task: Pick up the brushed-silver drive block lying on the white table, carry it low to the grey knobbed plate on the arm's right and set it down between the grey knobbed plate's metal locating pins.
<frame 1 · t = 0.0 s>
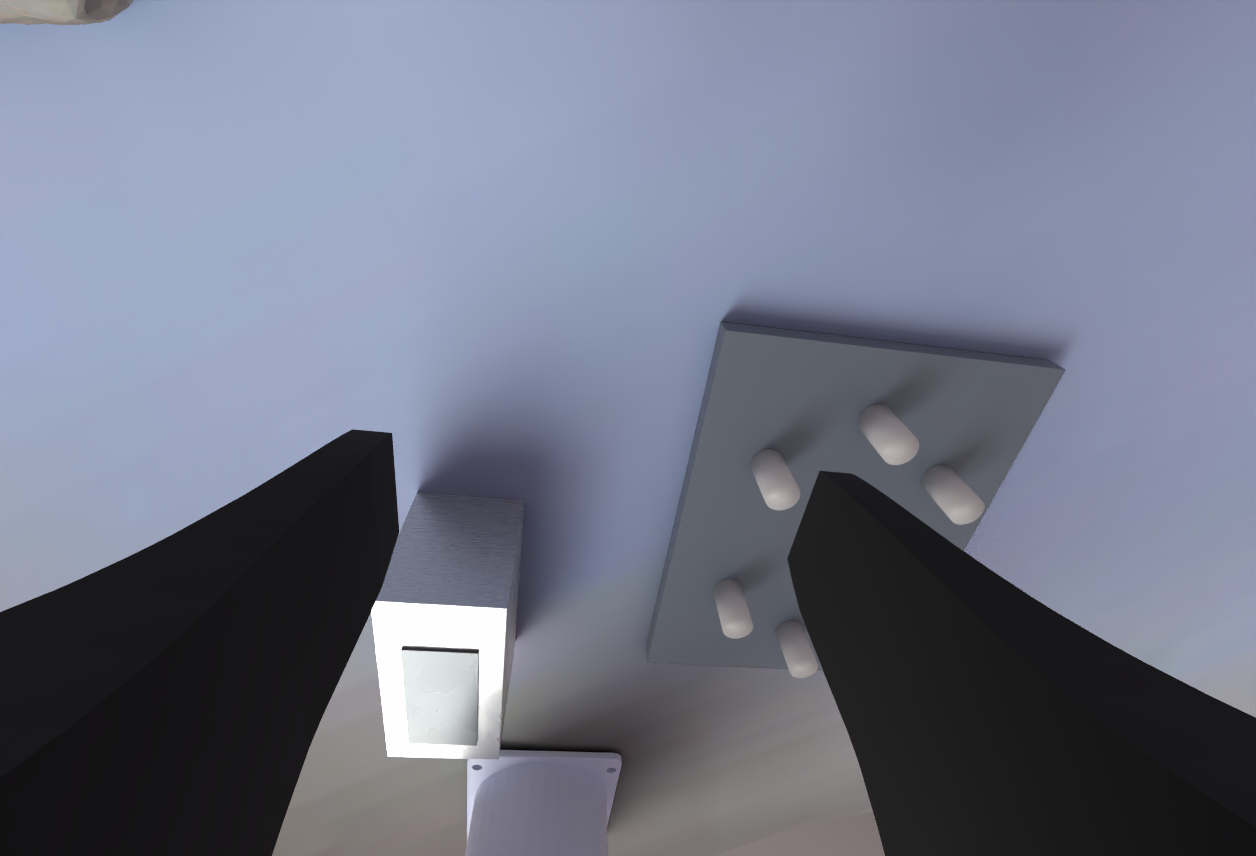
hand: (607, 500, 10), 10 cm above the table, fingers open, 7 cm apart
grey knobbed plate: (820, 523, 24), on the table
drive: (471, 571, 24), on the table
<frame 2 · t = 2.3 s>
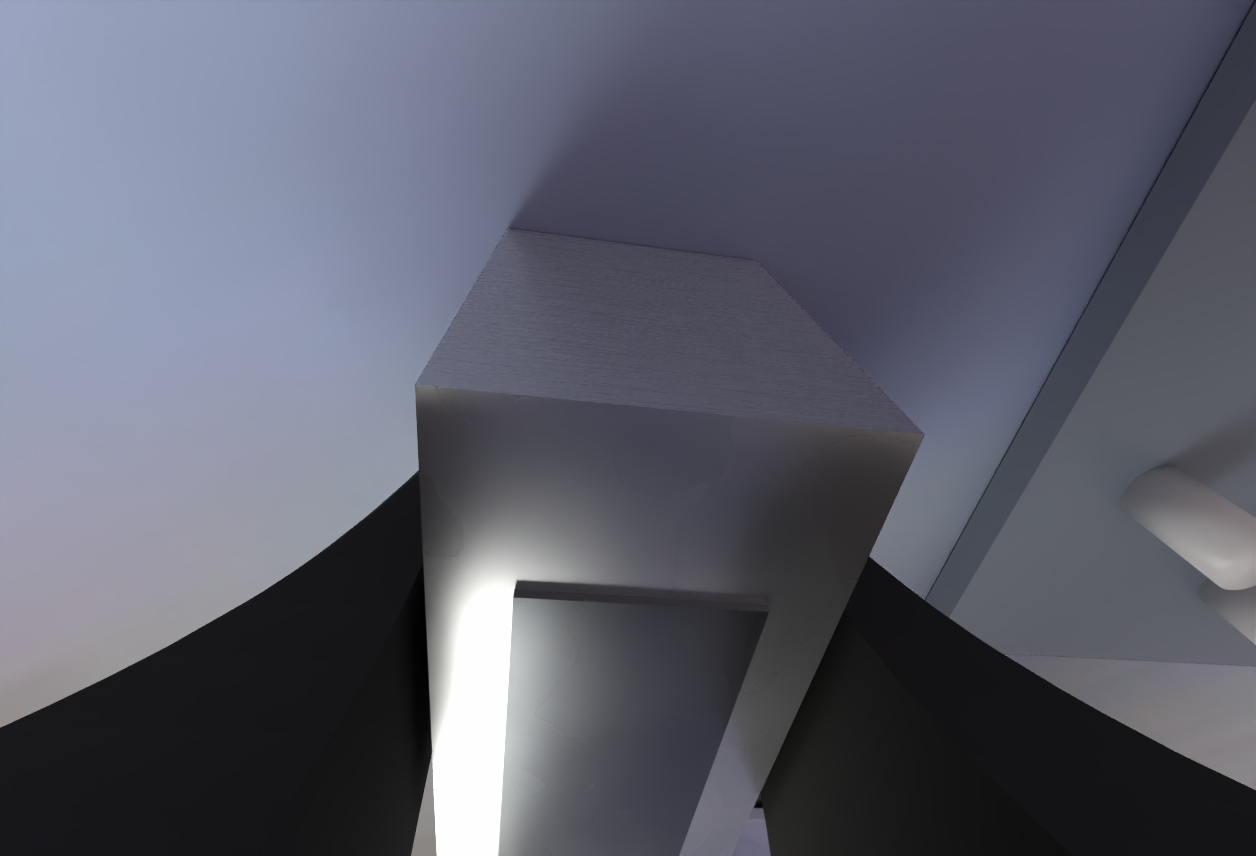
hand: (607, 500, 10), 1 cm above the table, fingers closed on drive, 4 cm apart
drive: (605, 455, 11), on the table, touching gripper
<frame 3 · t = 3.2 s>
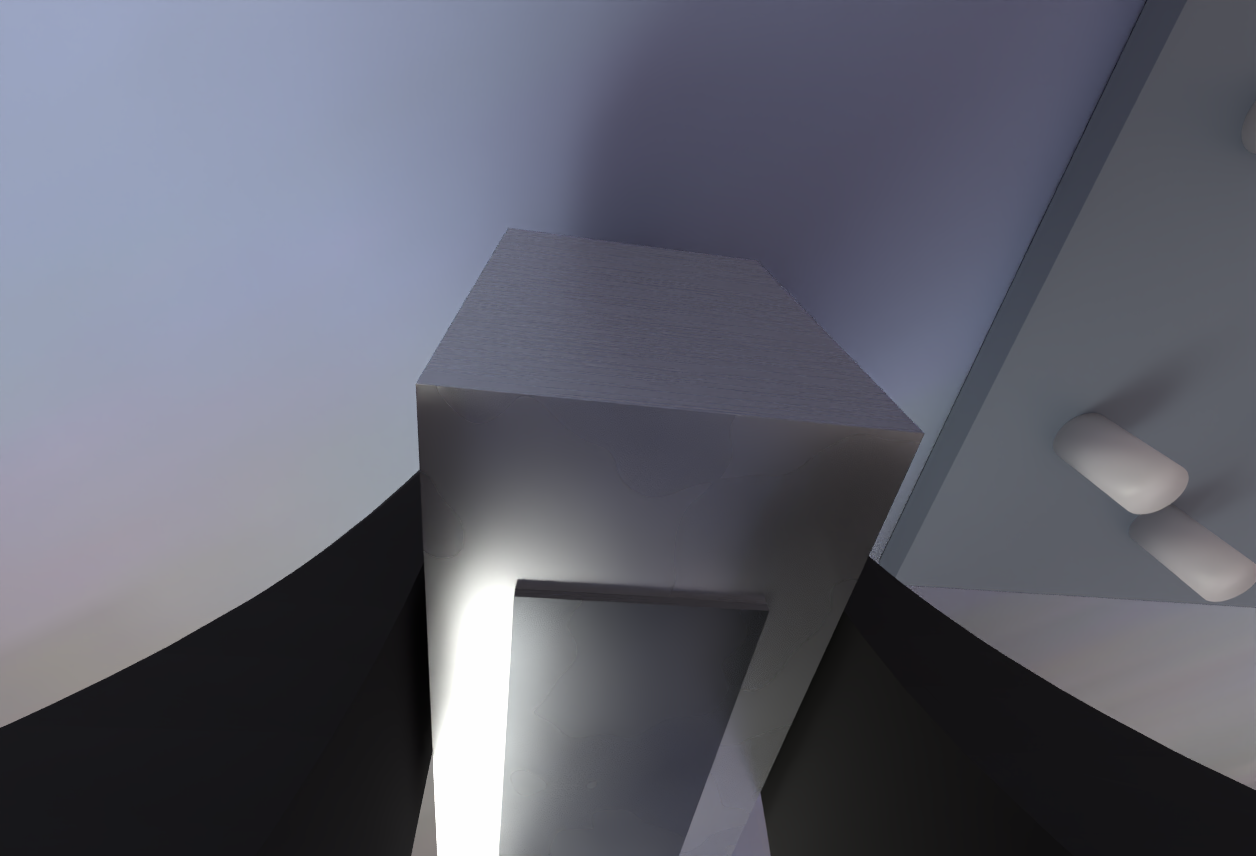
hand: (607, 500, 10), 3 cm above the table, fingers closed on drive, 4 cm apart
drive: (605, 455, 11), point 2 cm above the table, touching gripper
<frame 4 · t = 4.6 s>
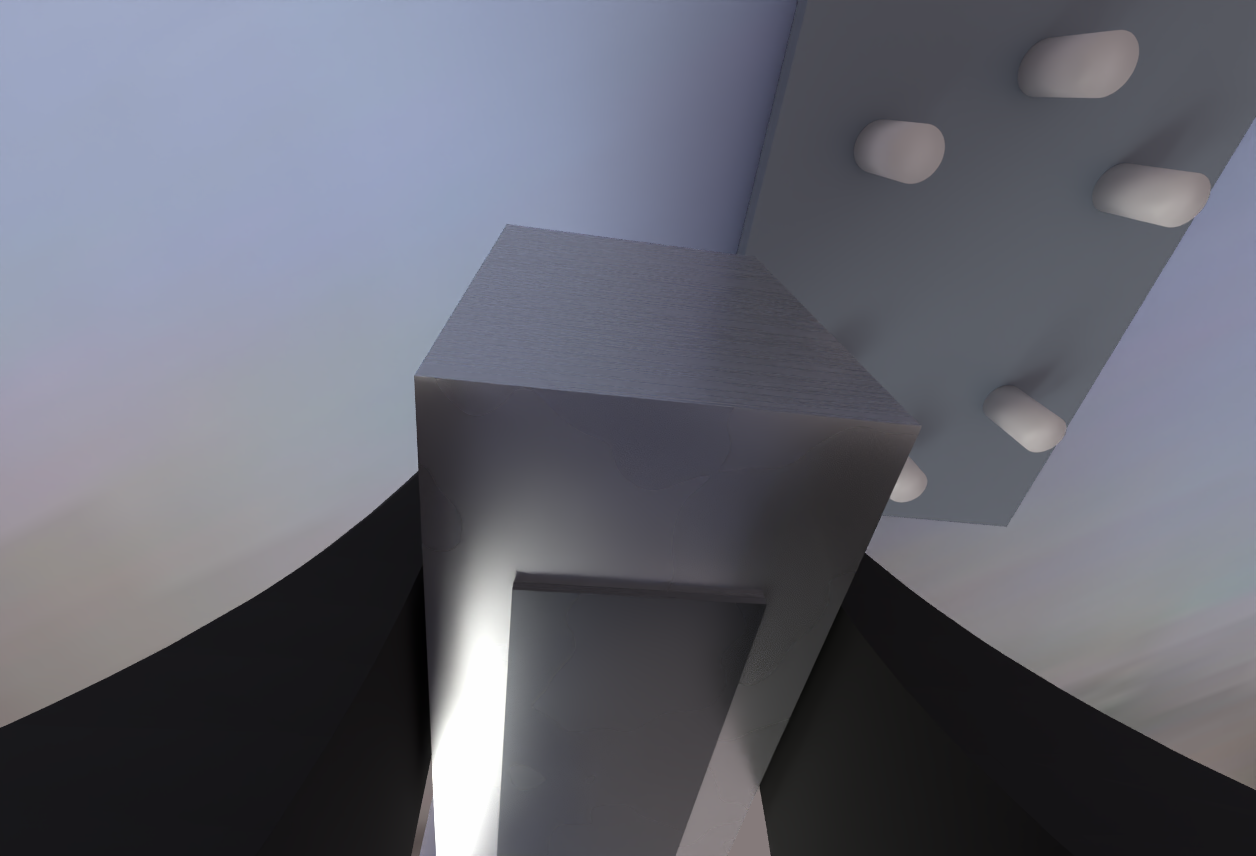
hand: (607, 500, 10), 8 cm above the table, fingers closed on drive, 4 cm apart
grey knobbed plate: (933, 281, 17), on the table
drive: (604, 451, 11), point 7 cm above the table, touching gripper
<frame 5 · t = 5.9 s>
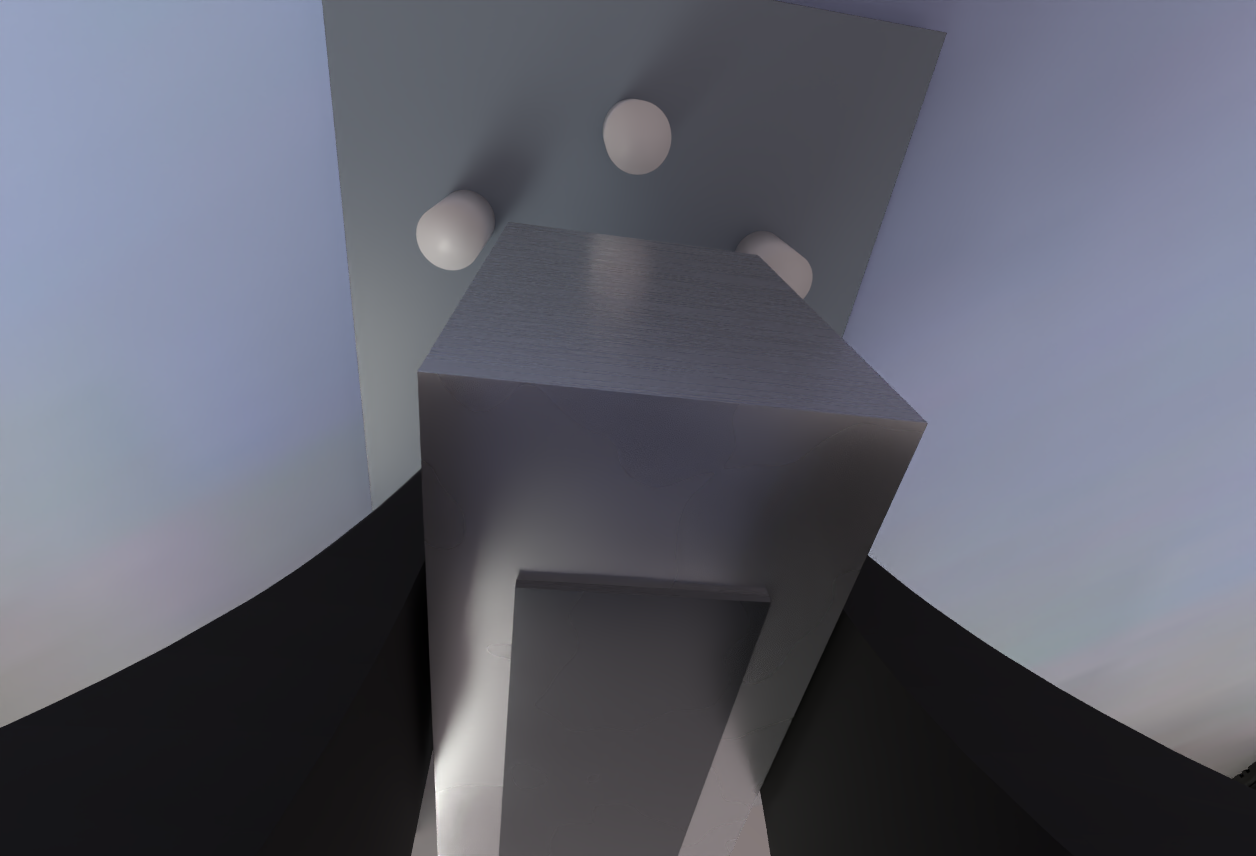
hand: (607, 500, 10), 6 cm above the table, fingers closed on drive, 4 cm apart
grey knobbed plate: (600, 354, 15), on the table
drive: (605, 450, 11), point 5 cm above the table, touching gripper
handheld gaming console: (1217, 791, 30), on the table
when the fingers open (3 cm above the table, at t = 7.0 s): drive stays where it is, resting on grey knobbed plate.
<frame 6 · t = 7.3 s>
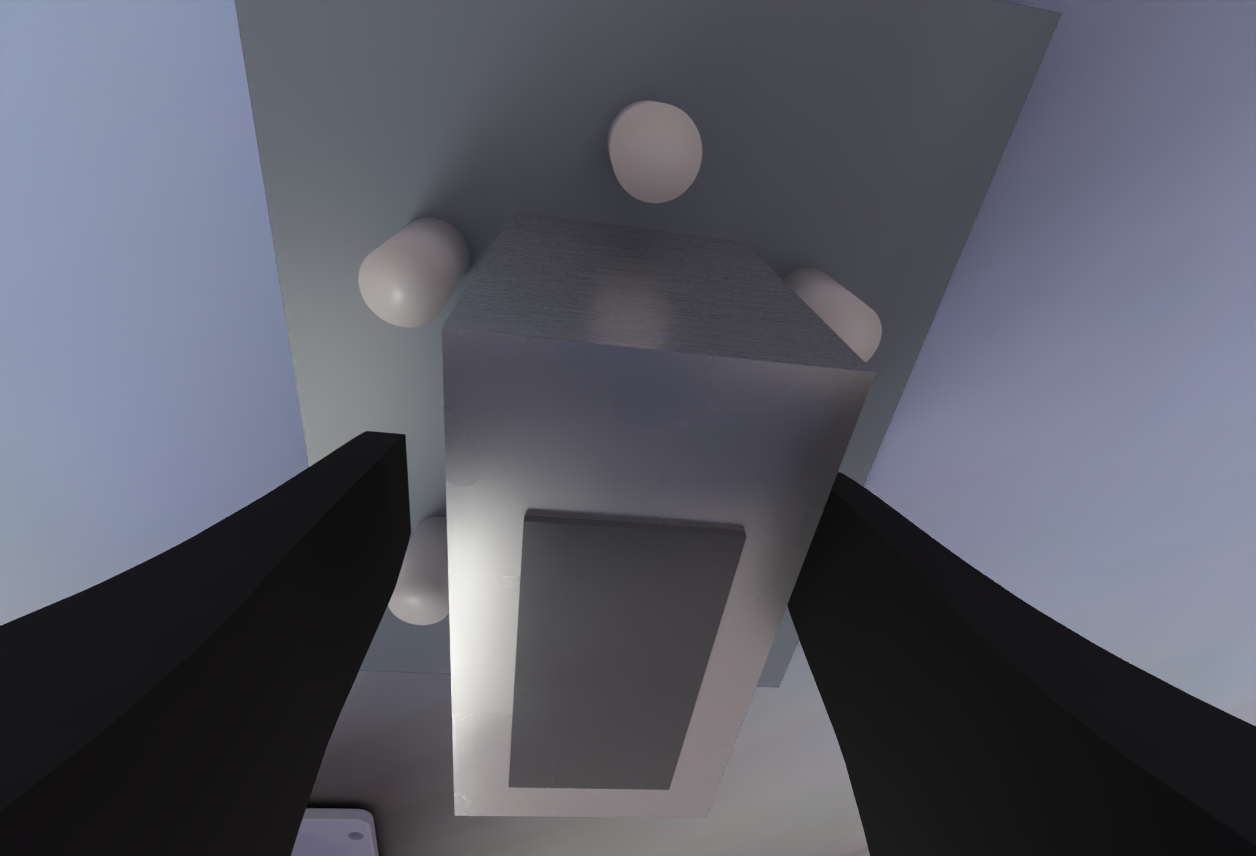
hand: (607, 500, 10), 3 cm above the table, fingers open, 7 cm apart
grey knobbed plate: (603, 411, 13), on the table
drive: (604, 426, 12), point 1 cm above the table, touching grey knobbed plate
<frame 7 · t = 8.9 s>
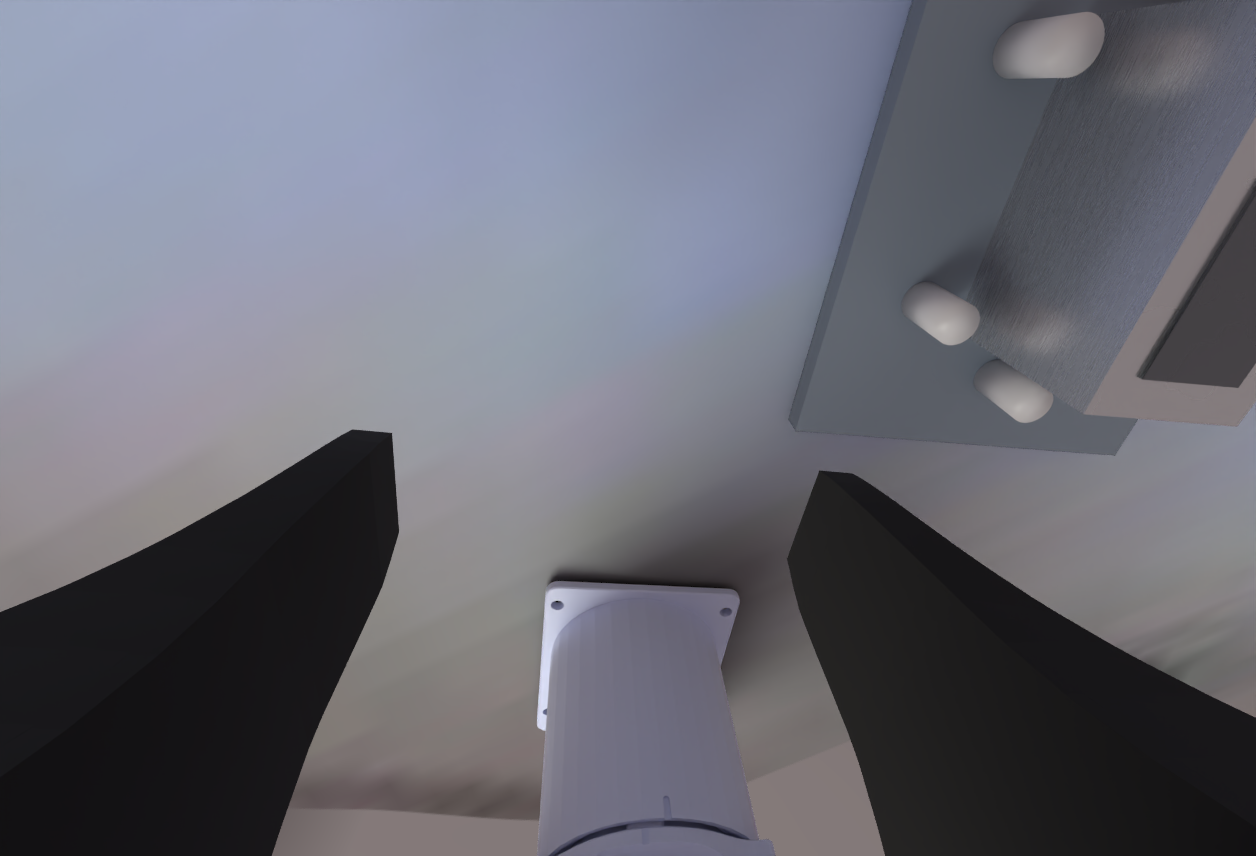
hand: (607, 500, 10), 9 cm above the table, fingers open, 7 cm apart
grey knobbed plate: (1055, 198, 17), on the table
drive: (1076, 199, 16), point 1 cm above the table, touching grey knobbed plate
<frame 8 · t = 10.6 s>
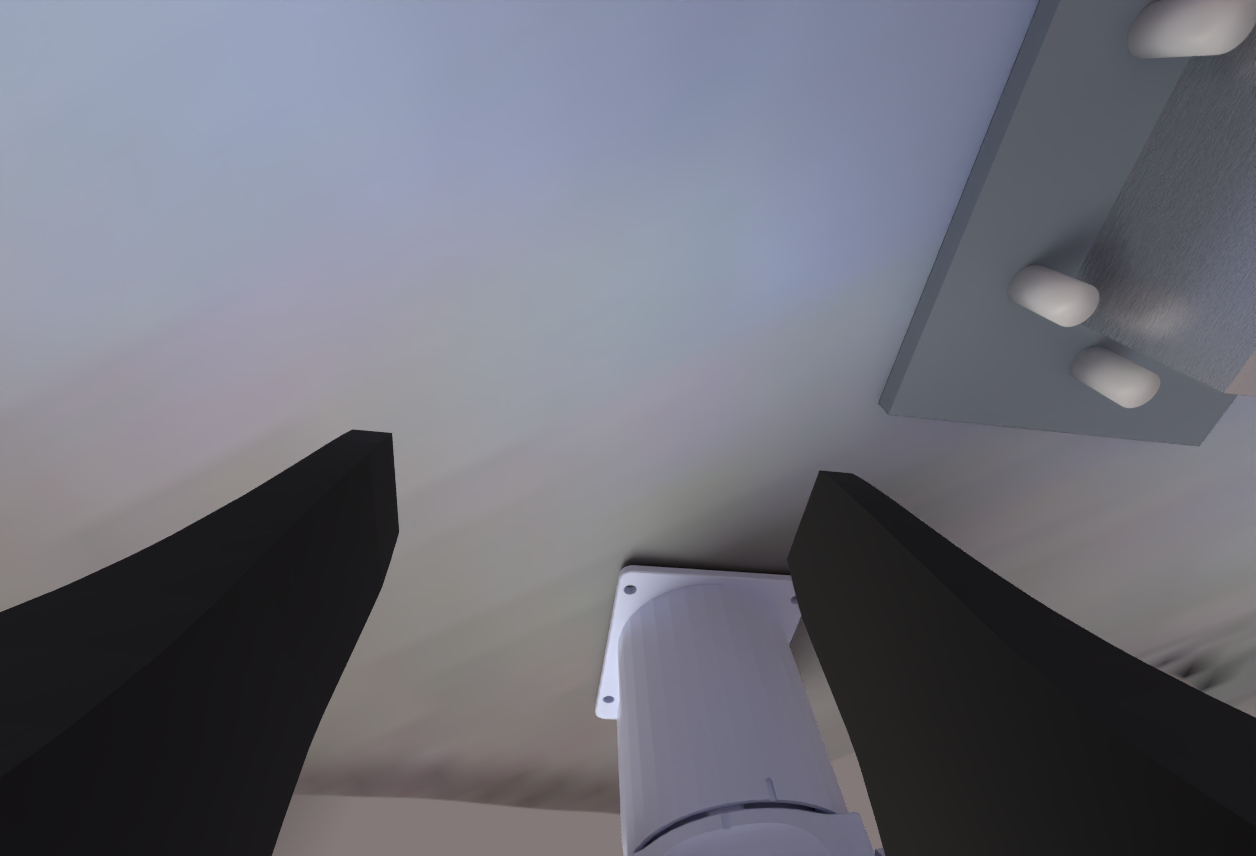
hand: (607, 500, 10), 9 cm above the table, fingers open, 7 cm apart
grey knobbed plate: (1166, 183, 17), on the table
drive: (1192, 184, 16), point 1 cm above the table, touching grey knobbed plate
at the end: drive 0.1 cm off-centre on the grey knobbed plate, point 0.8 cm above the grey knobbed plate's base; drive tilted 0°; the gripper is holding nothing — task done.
